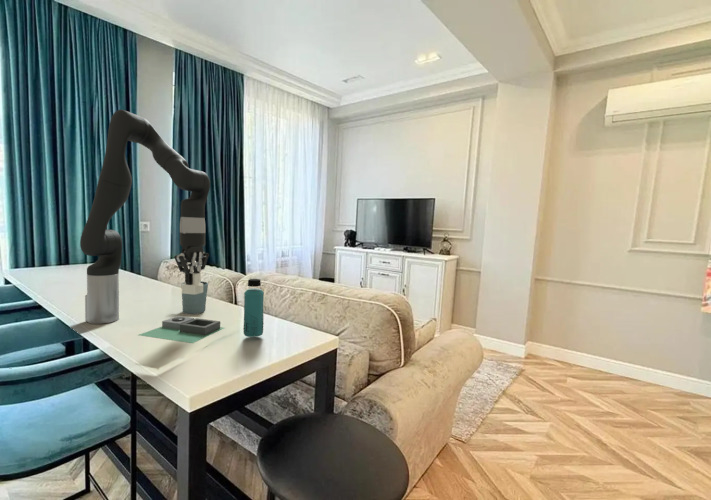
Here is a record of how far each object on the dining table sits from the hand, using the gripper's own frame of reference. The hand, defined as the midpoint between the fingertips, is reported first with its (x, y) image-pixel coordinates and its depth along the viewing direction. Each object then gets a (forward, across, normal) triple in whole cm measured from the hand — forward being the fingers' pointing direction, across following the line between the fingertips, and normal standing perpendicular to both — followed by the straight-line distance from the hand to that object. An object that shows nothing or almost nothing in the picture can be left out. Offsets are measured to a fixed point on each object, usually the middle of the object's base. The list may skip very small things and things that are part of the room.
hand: (192, 283), depth 110 cm
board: (+17, +1, -2) cm, 18 cm away
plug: (+3, 0, 0) cm, 3 cm away
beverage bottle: (+18, -5, +20) cm, 27 cm away
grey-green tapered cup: (+17, -24, -20) cm, 36 cm away
